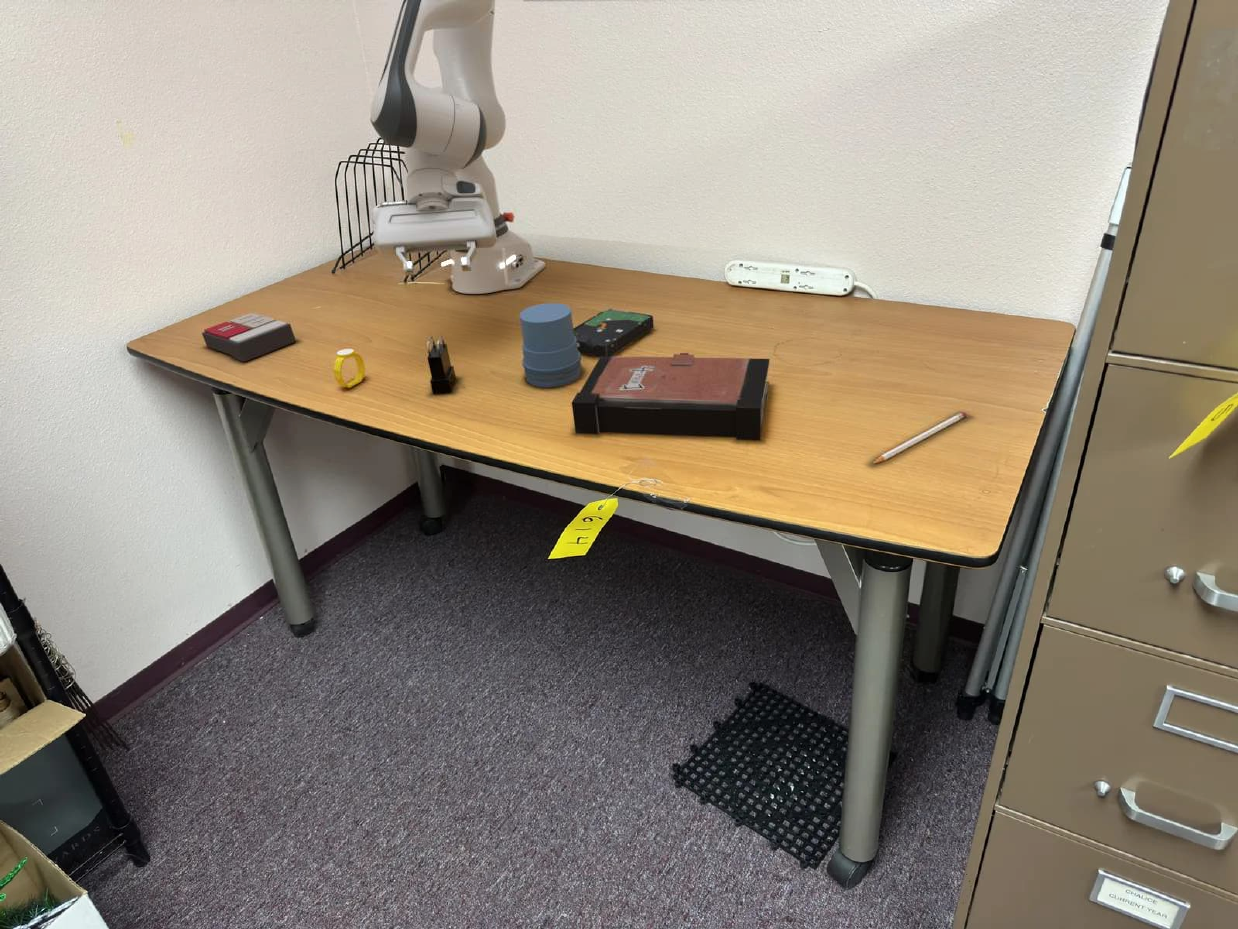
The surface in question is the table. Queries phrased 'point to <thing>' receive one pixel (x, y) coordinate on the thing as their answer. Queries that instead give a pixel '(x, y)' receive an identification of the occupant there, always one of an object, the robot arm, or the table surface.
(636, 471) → the table surface
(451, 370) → the clip
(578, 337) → the disk drive
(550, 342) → the cup stack
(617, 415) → the book
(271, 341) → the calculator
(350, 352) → the watch
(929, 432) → the pencil
